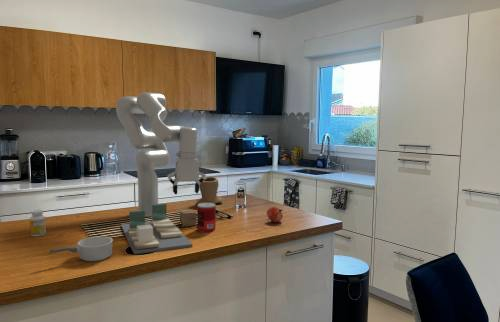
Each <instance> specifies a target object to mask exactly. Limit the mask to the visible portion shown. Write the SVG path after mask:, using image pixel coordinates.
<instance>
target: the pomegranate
mask: <svg viewBox="0 0 500 322" xmlns="http://www.w3.org/2000/svg"><path fill="white" fill-rule="evenodd" d="M282 211H284V210H283V209H281V208H278V207H276V206H272V207H270V208H268V209H267V211H266V215H267V218H268V219H267V221H270V222H271V223H274V224H275V223H278V222H280V221H282V220H283V217H284V213H283V212H282Z"/></svg>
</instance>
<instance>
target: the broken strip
mask: <svg viewBox="0 0 500 322" xmlns="http://www.w3.org/2000/svg"><path fill="white" fill-rule="evenodd" d="M128 213H129V214H128V216H129V217H128V218H129V223H128V224H130V229H128V233H129V235H130V236H131V239H132V241H133V243H134V245H135V247H136V249H145V248H152V247H159V242H158V241H157V239H156V238H155V237H154V235H153V241H150V242H141V243H139V241H138V240H137V226H139V225H145V222H146V217H145V210H139V211H137V210H131V211H129V212H128ZM133 235H134V236H133Z"/></svg>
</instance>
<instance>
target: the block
mask: <svg viewBox="0 0 500 322" xmlns="http://www.w3.org/2000/svg"><path fill="white" fill-rule="evenodd" d="M137 240H138V241H139V243H141V242H150V241H153V227H152V226H151V225H150V224H149V225H139V226H137Z"/></svg>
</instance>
